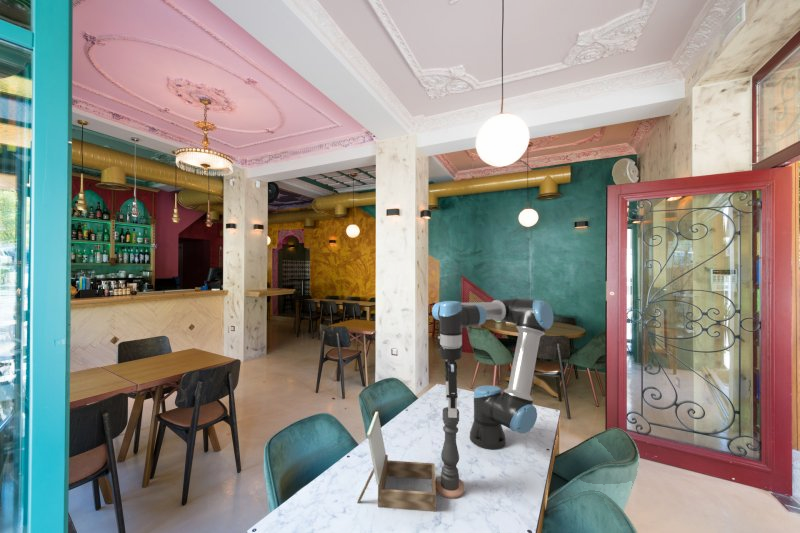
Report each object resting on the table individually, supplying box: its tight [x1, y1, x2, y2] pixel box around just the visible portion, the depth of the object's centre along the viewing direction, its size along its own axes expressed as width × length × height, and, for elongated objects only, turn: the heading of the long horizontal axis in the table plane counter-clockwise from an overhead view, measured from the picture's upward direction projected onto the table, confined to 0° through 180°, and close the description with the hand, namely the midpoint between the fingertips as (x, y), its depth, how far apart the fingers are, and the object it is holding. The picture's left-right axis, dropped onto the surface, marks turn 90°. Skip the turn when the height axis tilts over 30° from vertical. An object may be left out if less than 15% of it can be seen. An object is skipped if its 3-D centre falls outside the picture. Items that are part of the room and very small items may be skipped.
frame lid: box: [366, 411, 387, 485], centre depth 105 cm, size 4×16×15 cm, turn 175°
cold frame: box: [356, 454, 437, 512], centre depth 104 cm, size 25×16×12 cm, turn 85°
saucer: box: [435, 475, 465, 500], centre depth 105 cm, size 10×10×1 cm
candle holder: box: [440, 406, 460, 491], centre depth 105 cm, size 6×6×25 cm
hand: (450, 408), depth 106 cm, fingers open, 13 cm apart
